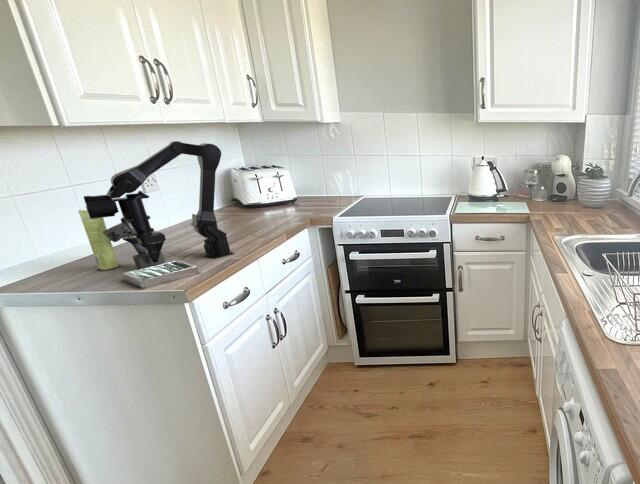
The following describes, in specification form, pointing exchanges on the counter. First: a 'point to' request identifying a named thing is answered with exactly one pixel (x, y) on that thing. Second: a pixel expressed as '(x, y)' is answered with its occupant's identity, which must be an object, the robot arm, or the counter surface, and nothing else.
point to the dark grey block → (146, 260)
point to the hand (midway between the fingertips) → (149, 260)
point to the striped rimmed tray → (159, 273)
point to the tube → (99, 241)
